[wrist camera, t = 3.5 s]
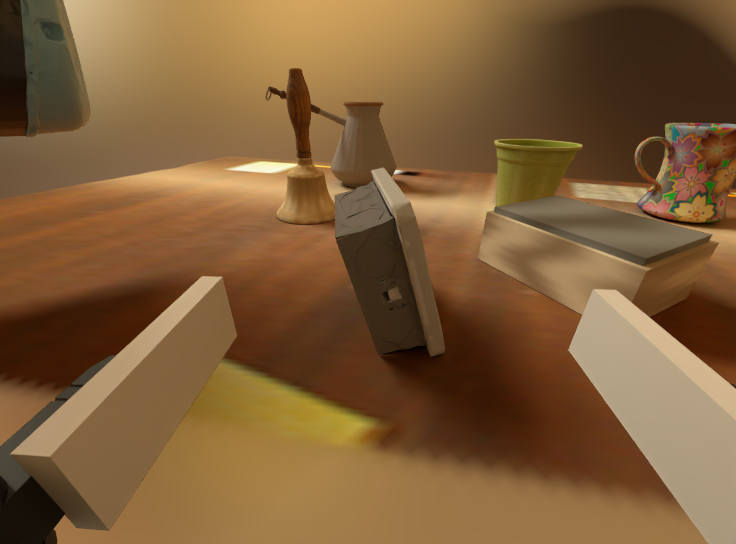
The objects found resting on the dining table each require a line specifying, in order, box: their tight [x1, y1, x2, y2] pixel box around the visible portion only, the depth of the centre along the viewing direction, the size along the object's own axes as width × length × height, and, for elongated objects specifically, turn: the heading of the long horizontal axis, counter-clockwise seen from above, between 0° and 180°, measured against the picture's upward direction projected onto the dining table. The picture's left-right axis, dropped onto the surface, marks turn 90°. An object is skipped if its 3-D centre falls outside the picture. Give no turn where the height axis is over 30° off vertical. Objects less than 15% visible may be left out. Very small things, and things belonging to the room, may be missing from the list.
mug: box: [635, 123, 736, 223], centre depth 38 cm, size 12×9×11 cm
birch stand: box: [478, 196, 718, 317], centre depth 25 cm, size 12×9×5 cm
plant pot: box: [494, 139, 582, 207], centre depth 39 cm, size 9×9×9 cm
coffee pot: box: [266, 87, 396, 188], centre depth 53 cm, size 21×12×15 cm, turn 89°
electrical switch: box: [335, 168, 445, 357], centre depth 19 cm, size 9×5×9 cm, turn 5°
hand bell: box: [276, 68, 335, 225], centre depth 37 cm, size 8×8×16 cm
